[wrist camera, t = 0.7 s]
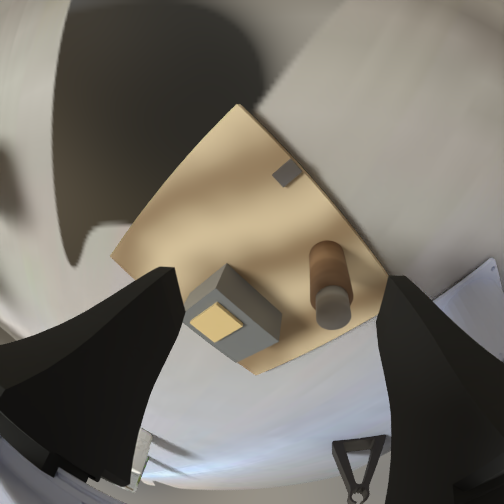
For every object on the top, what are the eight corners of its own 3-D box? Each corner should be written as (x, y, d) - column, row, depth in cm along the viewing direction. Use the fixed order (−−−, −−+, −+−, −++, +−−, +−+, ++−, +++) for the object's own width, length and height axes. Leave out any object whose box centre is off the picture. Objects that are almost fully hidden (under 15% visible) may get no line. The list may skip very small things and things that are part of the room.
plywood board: (399, 290, 20) (403, 301, 19) (257, 367, 27) (255, 377, 26) (240, 104, 15) (235, 104, 14) (115, 250, 22) (108, 258, 21)
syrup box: (136, 453, 64) (123, 488, 51) (124, 445, 61) (109, 482, 49) (149, 457, 62) (135, 494, 49) (137, 449, 59) (121, 487, 47)
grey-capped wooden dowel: (350, 258, 18) (365, 319, 13) (323, 277, 19) (327, 340, 14) (330, 233, 17) (340, 290, 12) (301, 254, 19) (300, 315, 13)
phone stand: (386, 434, 33) (389, 498, 23) (380, 445, 36) (382, 502, 26) (332, 440, 35) (328, 505, 25) (332, 451, 38) (328, 509, 28)
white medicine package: (142, 437, 50) (128, 470, 42) (116, 421, 48) (100, 455, 39) (162, 439, 47) (148, 476, 39) (135, 422, 45) (118, 460, 36)
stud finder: (282, 313, 21) (278, 344, 19) (242, 336, 23) (235, 365, 21) (226, 262, 20) (214, 291, 17) (190, 292, 22) (175, 320, 19)
